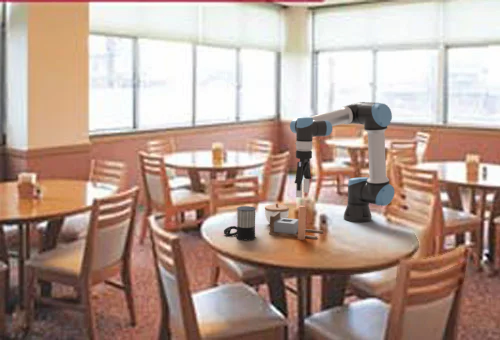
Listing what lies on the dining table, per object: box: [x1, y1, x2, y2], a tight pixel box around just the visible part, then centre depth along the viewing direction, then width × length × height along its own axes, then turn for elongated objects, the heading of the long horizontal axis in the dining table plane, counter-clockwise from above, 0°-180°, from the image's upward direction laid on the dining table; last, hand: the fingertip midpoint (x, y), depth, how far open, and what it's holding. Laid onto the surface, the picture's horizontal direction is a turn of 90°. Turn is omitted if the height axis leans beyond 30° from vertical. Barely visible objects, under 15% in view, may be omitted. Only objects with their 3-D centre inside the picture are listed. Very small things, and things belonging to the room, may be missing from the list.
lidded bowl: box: [264, 202, 290, 224], centre depth 320 cm, size 13×13×11 cm
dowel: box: [297, 205, 307, 241], centre depth 290 cm, size 4×4×16 cm
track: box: [268, 212, 324, 240], centre depth 301 cm, size 24×13×9 cm, turn 71°
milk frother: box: [223, 205, 257, 241], centre depth 293 cm, size 14×16×15 cm
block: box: [274, 218, 298, 234], centre depth 303 cm, size 10×10×6 cm
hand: (302, 194), depth 288 cm, fingers open, 13 cm apart
